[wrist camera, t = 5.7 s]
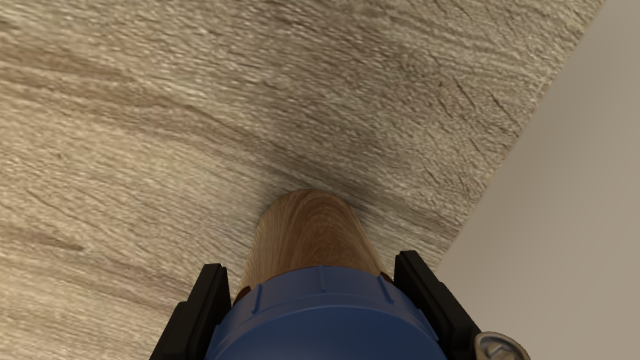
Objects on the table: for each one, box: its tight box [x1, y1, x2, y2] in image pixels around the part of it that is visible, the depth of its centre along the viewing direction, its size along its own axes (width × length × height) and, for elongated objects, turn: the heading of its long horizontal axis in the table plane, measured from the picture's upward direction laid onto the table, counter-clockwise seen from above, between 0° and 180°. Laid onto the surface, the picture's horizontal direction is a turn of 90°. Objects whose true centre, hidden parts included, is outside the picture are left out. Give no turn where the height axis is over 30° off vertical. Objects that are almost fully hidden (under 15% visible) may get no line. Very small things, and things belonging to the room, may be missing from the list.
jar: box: [232, 189, 396, 308], centre depth 13 cm, size 6×6×9 cm
